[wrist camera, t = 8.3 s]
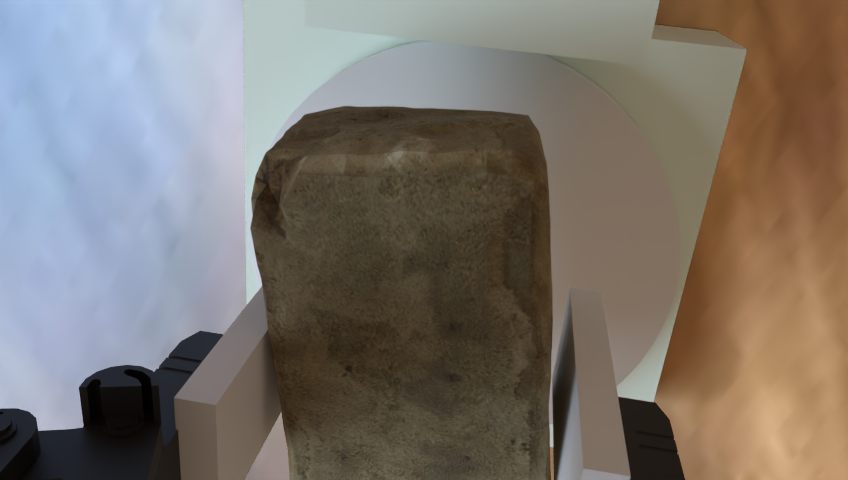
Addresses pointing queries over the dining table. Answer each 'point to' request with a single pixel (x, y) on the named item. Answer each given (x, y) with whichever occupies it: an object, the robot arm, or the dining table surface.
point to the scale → (551, 114)
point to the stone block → (409, 293)
